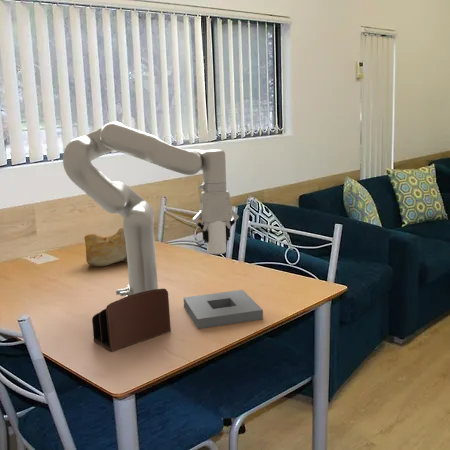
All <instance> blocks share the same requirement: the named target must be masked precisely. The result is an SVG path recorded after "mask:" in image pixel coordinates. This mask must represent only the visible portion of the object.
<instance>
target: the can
mask: <svg viewBox="0 0 450 450" xmlns="http://www.w3.org/2000/svg"><path fill="white" fill-rule="evenodd" d="M207 231H208V242H207V243H206V248H207V249H206V250H207V253H208V254H209V255H216V256H217V255H223V254H225V253H226V252H227V240H226V223H225V222H221V221H216V222H213V223H208V227H207Z"/></svg>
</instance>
